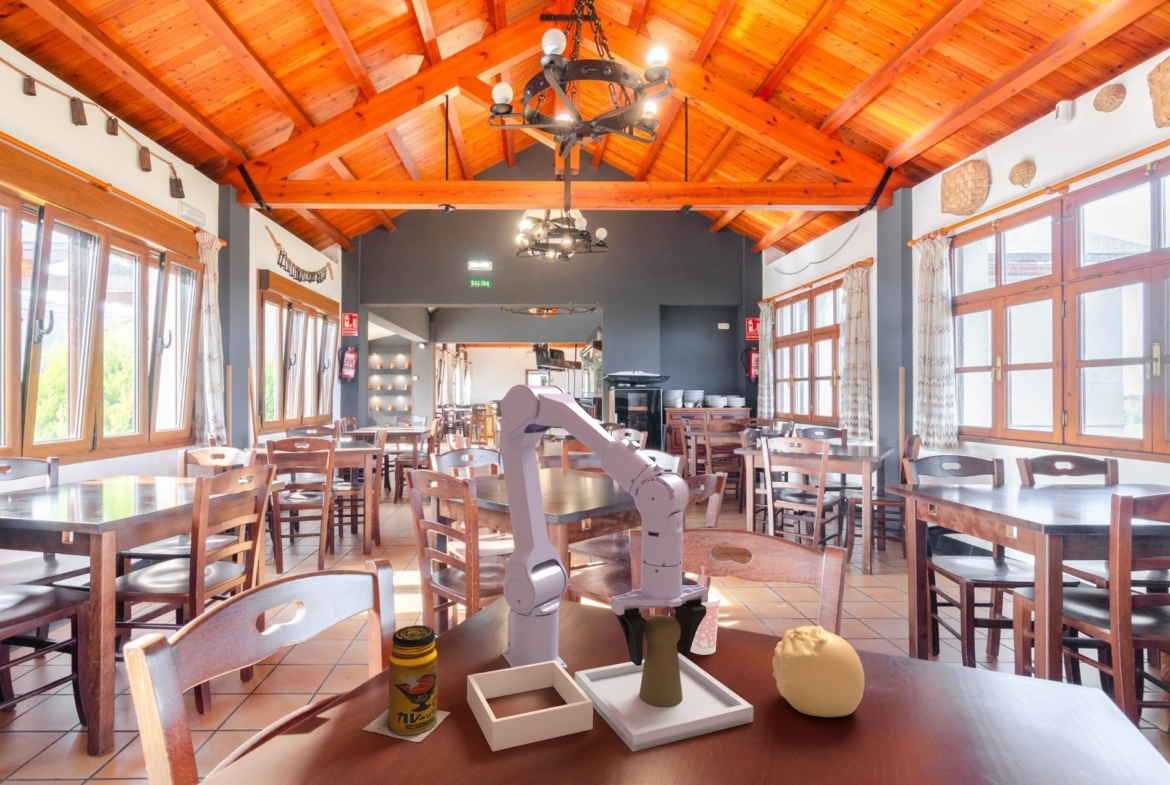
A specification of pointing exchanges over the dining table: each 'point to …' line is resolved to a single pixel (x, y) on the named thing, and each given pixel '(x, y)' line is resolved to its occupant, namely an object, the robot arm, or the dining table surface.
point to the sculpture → (818, 672)
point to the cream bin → (532, 723)
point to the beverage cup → (707, 625)
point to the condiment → (411, 687)
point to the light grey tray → (653, 726)
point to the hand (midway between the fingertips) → (659, 658)
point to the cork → (661, 663)
